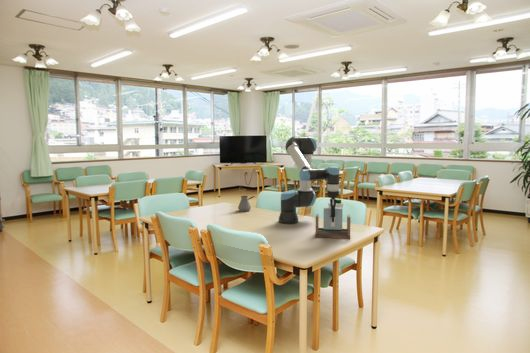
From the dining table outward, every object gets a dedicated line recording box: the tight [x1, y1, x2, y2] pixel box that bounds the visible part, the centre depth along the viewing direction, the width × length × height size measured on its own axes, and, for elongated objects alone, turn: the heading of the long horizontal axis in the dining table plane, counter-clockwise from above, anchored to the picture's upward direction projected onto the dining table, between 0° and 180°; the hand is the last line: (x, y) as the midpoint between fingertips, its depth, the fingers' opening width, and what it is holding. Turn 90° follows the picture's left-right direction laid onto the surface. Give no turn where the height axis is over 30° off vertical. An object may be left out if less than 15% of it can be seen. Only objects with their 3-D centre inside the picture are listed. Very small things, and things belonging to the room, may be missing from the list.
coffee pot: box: [237, 195, 256, 213], centre depth 315 cm, size 21×12×15 cm, turn 37°
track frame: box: [314, 213, 351, 240], centre depth 239 cm, size 12×22×14 cm, turn 80°
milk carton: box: [328, 199, 344, 209], centre depth 258 cm, size 9×9×20 cm
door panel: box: [323, 206, 343, 230], centre depth 238 cm, size 3×12×14 cm, turn 80°
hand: (332, 225), depth 239 cm, fingers closed on door panel, 3 cm apart
